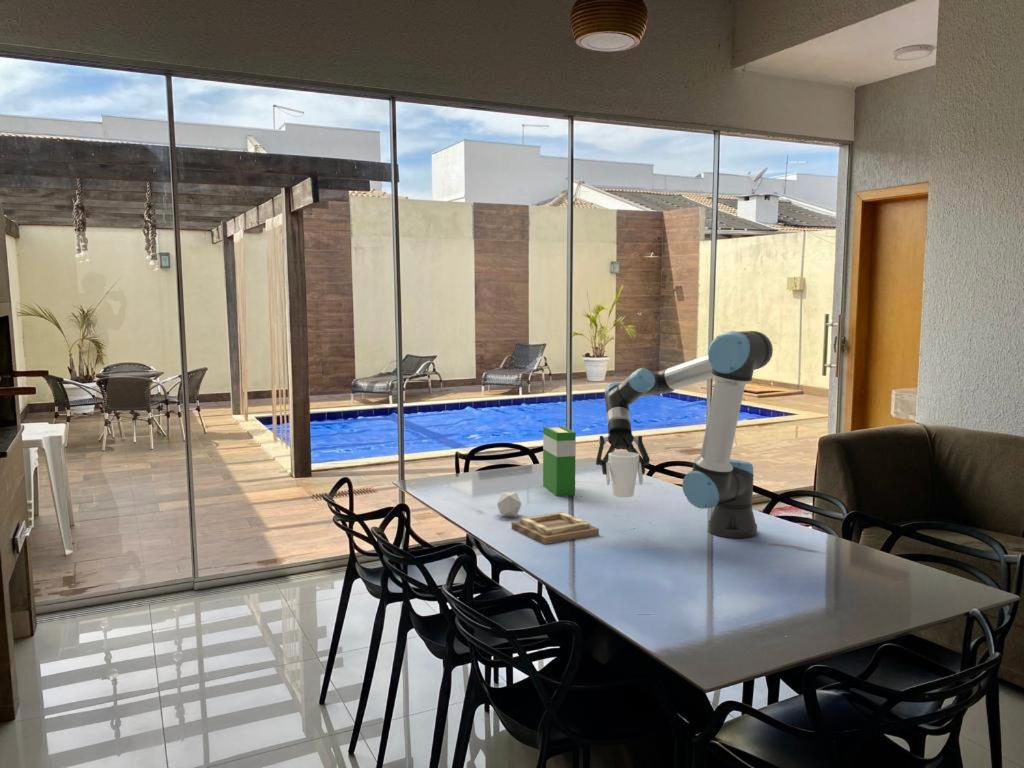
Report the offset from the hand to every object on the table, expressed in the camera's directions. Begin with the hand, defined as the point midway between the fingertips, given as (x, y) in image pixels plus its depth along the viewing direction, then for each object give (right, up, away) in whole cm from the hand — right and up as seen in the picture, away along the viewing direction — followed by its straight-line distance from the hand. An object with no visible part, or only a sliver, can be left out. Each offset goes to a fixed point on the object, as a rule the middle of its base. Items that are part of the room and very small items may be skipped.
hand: (624, 482), depth 248 cm
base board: (-21, -16, +6) cm, 28 cm away
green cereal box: (-17, -11, +63) cm, 66 cm away
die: (-36, -15, +26) cm, 46 cm away
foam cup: (0, -5, +4) cm, 6 cm away
